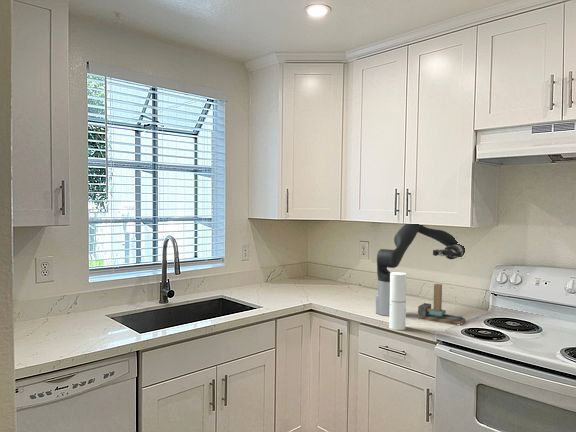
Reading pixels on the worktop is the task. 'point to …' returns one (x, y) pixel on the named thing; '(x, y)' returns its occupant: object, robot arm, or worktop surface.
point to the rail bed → (443, 319)
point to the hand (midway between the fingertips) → (442, 254)
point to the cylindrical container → (397, 301)
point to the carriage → (437, 301)
